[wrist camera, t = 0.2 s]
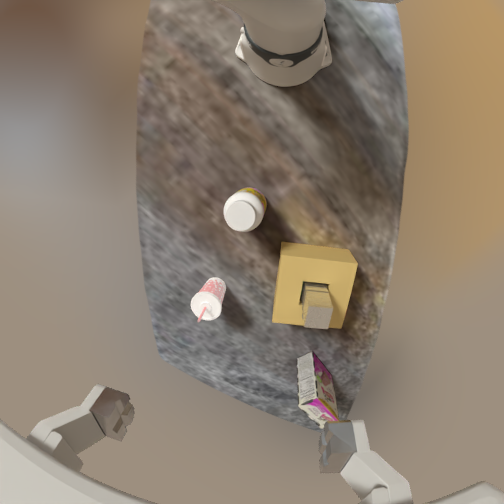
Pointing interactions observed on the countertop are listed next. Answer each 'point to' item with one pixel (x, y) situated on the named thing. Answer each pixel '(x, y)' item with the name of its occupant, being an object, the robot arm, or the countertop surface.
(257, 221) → the supplement bottle
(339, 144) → the countertop surface
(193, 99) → the countertop surface
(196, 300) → the beverage cup
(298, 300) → the housing
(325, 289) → the column
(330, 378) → the candy bar box
